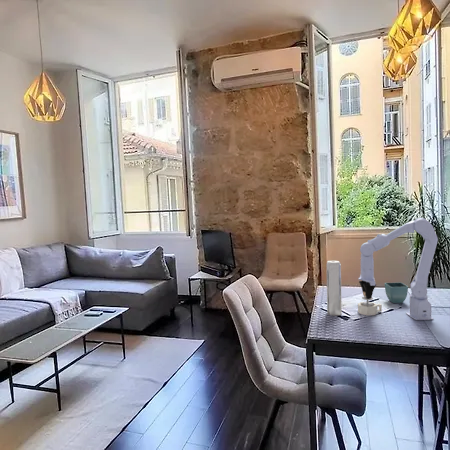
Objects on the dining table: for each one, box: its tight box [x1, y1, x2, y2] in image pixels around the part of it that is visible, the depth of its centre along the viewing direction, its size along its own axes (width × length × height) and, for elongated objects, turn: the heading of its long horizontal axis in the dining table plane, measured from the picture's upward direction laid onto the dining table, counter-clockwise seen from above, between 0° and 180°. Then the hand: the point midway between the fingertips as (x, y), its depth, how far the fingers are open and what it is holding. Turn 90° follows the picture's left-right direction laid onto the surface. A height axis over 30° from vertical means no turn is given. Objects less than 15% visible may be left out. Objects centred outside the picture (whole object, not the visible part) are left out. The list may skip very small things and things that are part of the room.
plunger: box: [361, 291, 374, 306], centre depth 185 cm, size 5×5×6 cm
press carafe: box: [357, 301, 383, 316], centre depth 186 cm, size 8×10×4 cm
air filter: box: [326, 260, 343, 317], centre depth 185 cm, size 6×6×25 cm
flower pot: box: [384, 281, 409, 304], centre depth 201 cm, size 9×9×9 cm
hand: (367, 297), depth 185 cm, fingers closed on plunger, 3 cm apart
